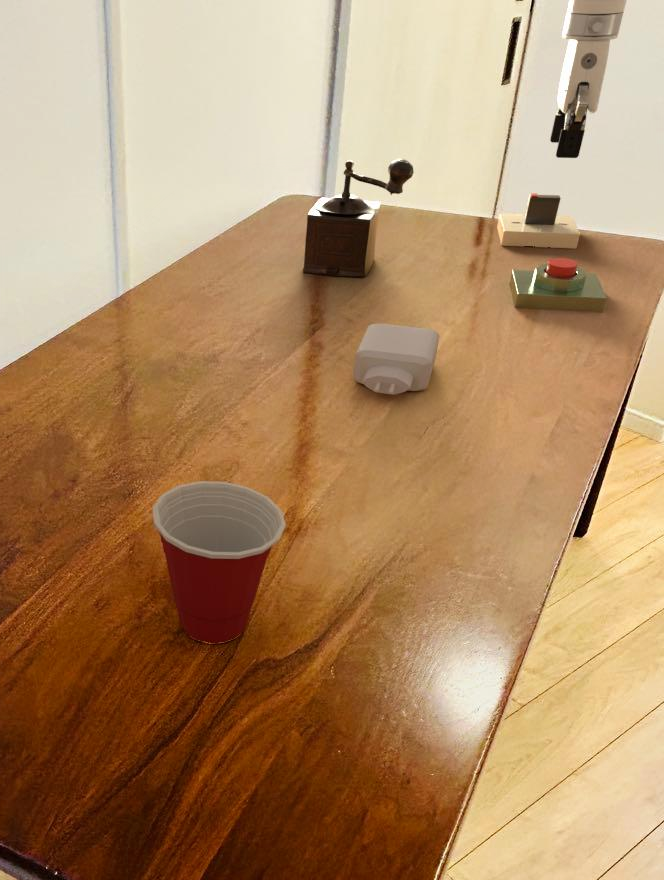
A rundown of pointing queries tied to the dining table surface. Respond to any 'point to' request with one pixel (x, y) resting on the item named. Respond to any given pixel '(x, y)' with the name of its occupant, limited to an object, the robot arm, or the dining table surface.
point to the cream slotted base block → (537, 232)
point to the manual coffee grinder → (348, 226)
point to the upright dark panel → (542, 209)
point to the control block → (557, 291)
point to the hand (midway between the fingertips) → (563, 149)
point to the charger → (396, 358)
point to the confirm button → (561, 267)
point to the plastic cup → (216, 553)
